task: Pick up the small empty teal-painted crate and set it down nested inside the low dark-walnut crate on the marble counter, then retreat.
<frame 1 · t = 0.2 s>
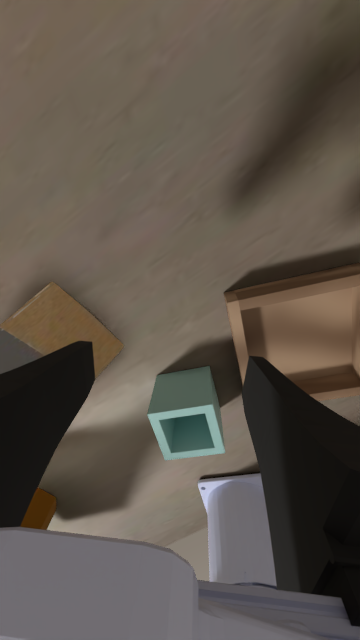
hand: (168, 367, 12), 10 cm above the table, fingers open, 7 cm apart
sandwich container: (44, 361, 24), on the table
walnut crate: (293, 335, 21), on the table
decorative tree: (40, 498, 33), on the table
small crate: (189, 392, 24), on the table
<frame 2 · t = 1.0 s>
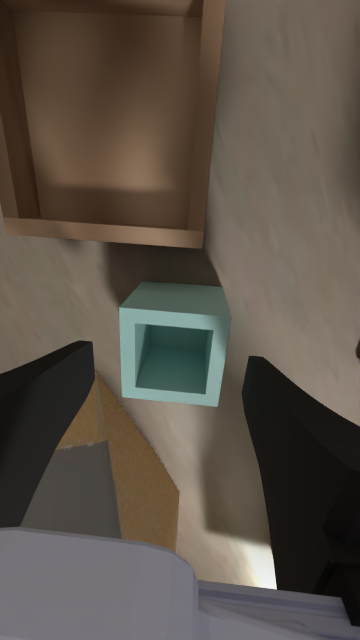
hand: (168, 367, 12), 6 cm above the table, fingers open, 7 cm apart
sandwich container: (103, 445, 22), on the table
walnut crate: (114, 135, 13), on the table
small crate: (179, 320, 17), on the table
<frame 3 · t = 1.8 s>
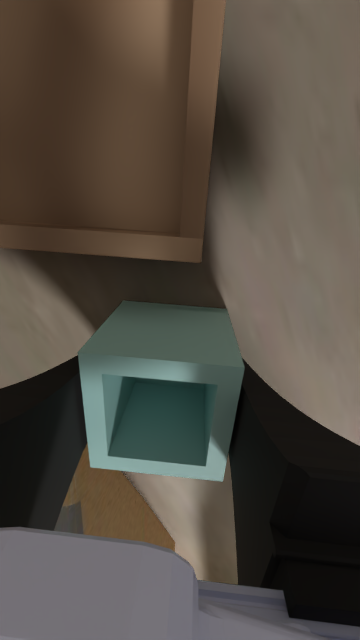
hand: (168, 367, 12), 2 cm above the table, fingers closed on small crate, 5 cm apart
sandwich container: (82, 490, 19), on the table
walnut crate: (78, 104, 9), on the table
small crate: (172, 350, 13), on the table, touching gripper
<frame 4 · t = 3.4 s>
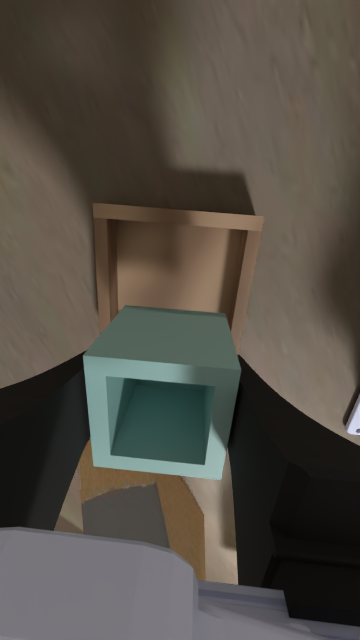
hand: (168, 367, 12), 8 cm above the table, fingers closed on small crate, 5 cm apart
sandwich container: (144, 478, 28), on the table
walnut crate: (175, 283, 19), on the table
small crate: (172, 353, 13), point 7 cm above the table, touching gripper
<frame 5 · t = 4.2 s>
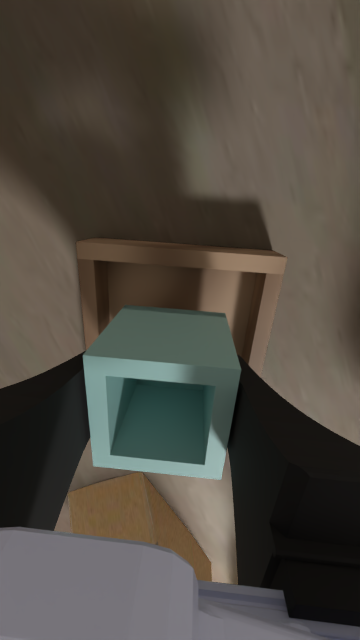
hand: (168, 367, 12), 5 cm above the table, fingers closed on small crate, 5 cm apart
sandwich container: (144, 525, 25), on the table
walnut crate: (177, 325, 16), on the table
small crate: (172, 352, 13), point 3 cm above the table, touching gripper
when the fingers open (3 cm above the table, at t = 5.0 s): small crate stays where it is, resting on walnut crate.
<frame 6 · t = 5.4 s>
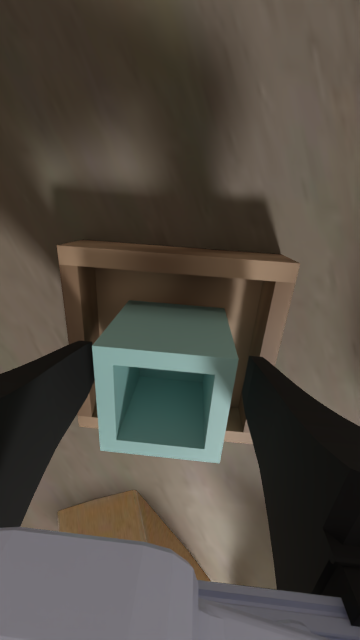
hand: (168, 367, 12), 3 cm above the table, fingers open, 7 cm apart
sandwich container: (140, 545, 24), on the table
walnut crate: (174, 336, 15), on the table
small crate: (173, 346, 14), point 1 cm above the table, touching walnut crate
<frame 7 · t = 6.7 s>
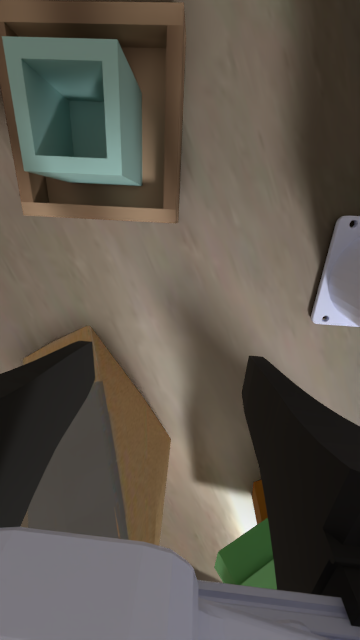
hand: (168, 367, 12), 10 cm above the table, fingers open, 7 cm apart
sandwich container: (101, 399, 26), on the table
walnut crate: (106, 137, 17), on the table
decorative tree: (271, 488, 29), on the table
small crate: (103, 140, 16), point 1 cm above the table, touching walnut crate
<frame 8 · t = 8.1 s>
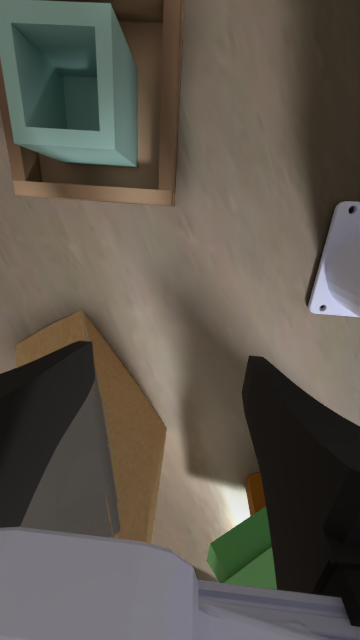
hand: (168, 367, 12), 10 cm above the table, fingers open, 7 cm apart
sandwich container: (96, 387, 25), on the table
walnut crate: (101, 116, 16), on the table
decorative tree: (266, 482, 29), on the table
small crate: (98, 119, 16), point 1 cm above the table, touching walnut crate
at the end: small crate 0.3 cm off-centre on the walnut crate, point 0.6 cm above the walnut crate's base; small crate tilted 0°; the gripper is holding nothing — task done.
